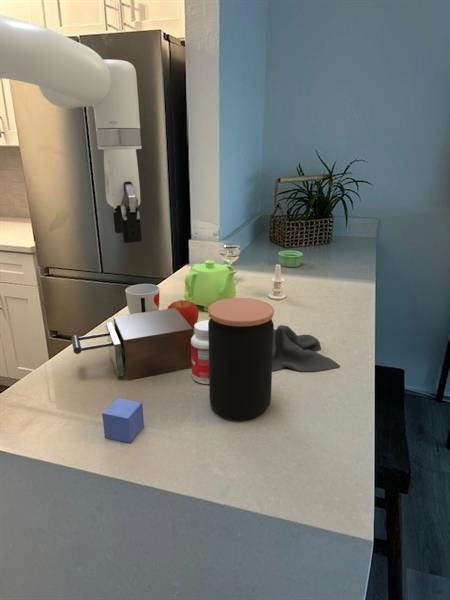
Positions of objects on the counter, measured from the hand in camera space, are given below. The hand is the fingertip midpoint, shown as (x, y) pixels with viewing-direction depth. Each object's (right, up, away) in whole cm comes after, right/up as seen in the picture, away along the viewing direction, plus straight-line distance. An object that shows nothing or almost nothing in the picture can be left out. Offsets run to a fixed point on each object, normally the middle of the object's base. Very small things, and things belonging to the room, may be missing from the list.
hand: (127, 236), depth 81 cm
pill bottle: (+15, -27, +3) cm, 31 cm away
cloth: (+32, -24, +12) cm, 42 cm away
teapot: (+15, -14, +40) cm, 45 cm away
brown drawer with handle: (-2, -25, +7) cm, 26 cm away
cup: (-1, -19, +26) cm, 32 cm away
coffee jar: (+21, -30, -6) cm, 37 cm away
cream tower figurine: (+34, -11, +46) cm, 59 cm away
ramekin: (+43, +1, +80) cm, 91 cm away
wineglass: (+20, -6, +61) cm, 64 cm away
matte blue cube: (+3, -33, -13) cm, 36 cm away
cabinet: (+3, -25, +9) cm, 27 cm away
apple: (+8, -20, +23) cm, 32 cm away
